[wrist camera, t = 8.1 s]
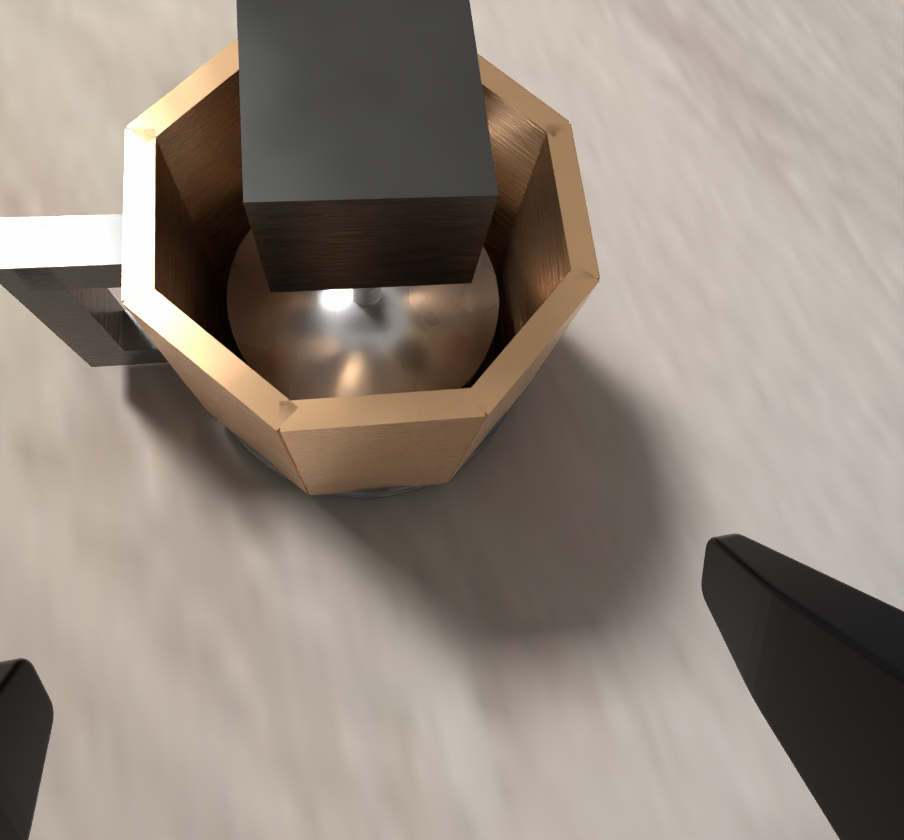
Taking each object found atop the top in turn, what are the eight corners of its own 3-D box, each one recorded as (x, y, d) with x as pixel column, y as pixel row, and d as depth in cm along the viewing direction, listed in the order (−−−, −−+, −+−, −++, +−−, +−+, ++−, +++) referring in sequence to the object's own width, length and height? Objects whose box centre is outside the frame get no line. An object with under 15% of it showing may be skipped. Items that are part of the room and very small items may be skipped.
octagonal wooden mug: (538, 483, 21) (630, 410, 14) (101, 522, 19) (-65, 463, 12) (497, 205, 23) (555, 19, 16) (109, 217, 22) (-22, 13, 14)
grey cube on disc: (511, 419, 18) (610, 280, 11) (234, 440, 17) (131, 302, 10) (478, 187, 20) (542, -67, 13) (228, 193, 19) (137, -78, 12)
